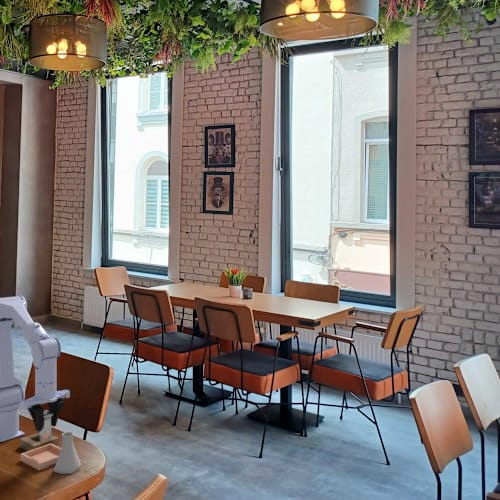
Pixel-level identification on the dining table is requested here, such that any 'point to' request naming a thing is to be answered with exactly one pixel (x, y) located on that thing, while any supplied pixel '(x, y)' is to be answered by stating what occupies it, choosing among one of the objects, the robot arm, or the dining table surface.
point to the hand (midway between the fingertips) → (45, 427)
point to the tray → (42, 456)
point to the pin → (46, 426)
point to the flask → (67, 456)
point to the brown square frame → (36, 442)
